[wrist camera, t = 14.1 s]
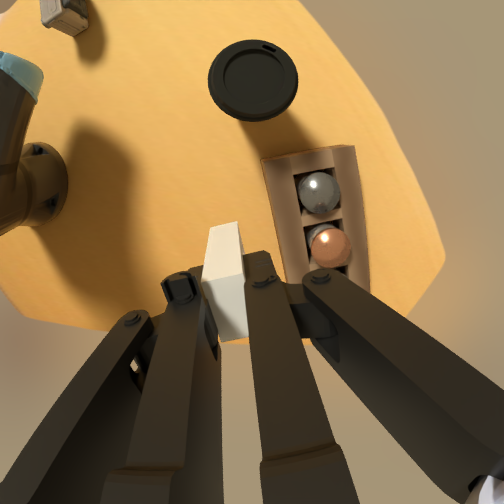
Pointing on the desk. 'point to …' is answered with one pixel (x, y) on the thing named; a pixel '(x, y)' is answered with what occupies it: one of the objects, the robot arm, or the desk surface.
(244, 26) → the desk surface
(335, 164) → the wooden jar holder
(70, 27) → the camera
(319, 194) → the ball
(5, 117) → the robot arm
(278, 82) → the coffee cup
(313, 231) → the terracotta plunger
